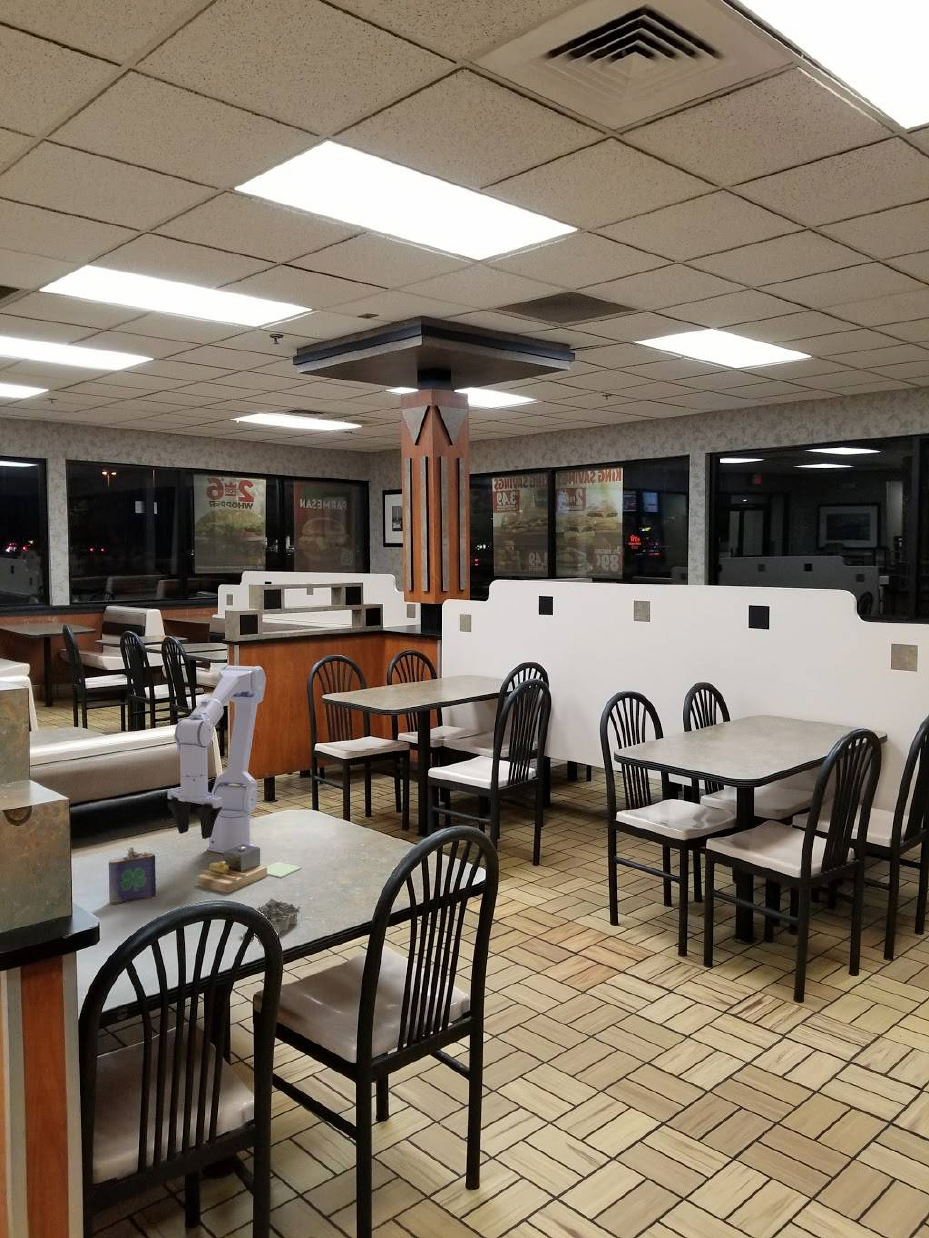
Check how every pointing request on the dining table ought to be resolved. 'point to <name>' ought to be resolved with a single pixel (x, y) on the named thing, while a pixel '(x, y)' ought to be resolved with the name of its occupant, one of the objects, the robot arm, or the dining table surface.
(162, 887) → the dining table surface
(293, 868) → the mat
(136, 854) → the flask
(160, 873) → the dining table surface
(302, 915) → the dining table surface
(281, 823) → the dining table surface
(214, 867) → the bolt
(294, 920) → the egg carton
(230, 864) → the metal box with knob
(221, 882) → the wooden tray with rails
